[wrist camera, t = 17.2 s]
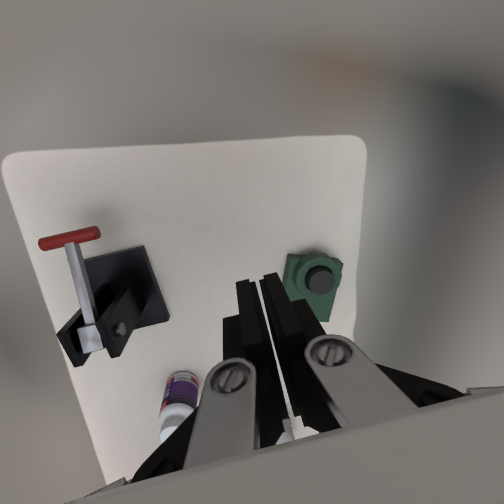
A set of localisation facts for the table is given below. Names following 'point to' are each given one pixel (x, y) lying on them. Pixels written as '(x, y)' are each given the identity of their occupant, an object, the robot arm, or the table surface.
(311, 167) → the table surface
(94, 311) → the lever
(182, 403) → the pill bottle
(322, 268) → the button
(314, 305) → the button box
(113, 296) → the bracket
